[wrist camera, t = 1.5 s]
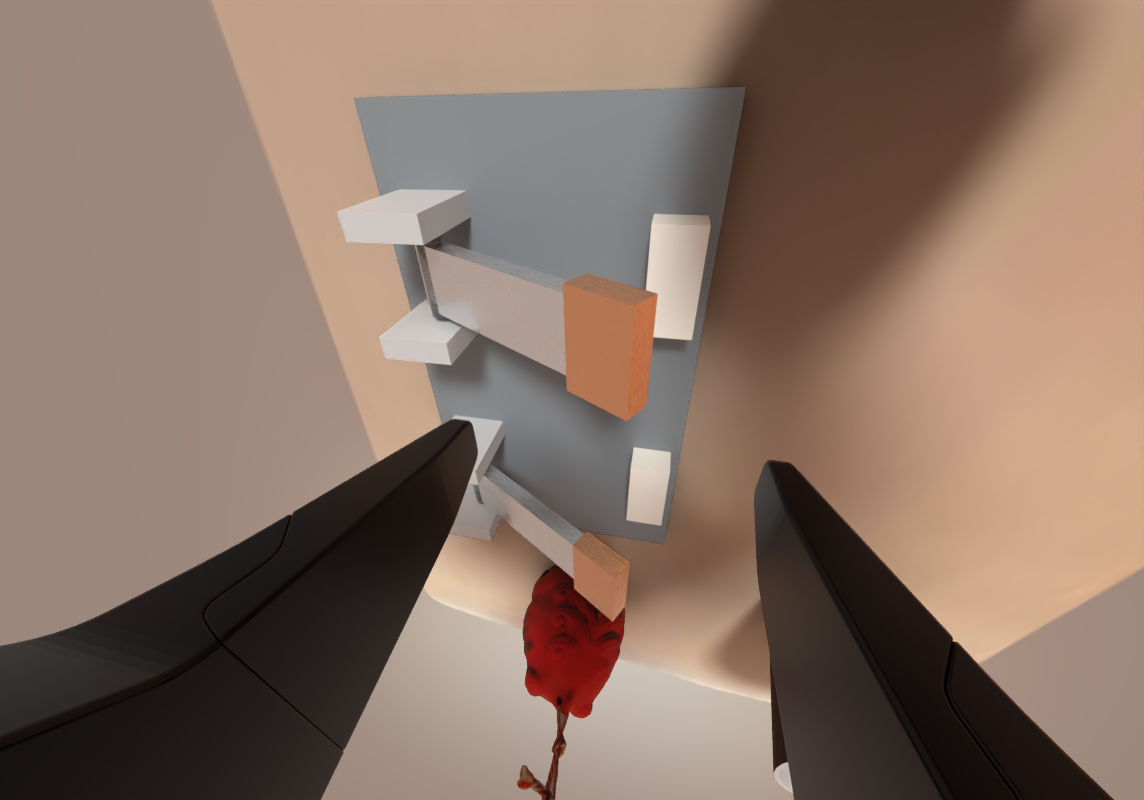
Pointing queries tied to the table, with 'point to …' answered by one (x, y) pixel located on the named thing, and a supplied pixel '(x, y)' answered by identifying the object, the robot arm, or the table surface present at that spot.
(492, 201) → the grey stepped panel
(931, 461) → the table surface
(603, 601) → the strap far
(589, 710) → the red clay folk toy
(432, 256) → the strap near
